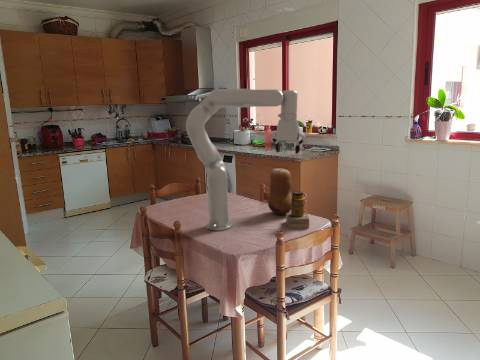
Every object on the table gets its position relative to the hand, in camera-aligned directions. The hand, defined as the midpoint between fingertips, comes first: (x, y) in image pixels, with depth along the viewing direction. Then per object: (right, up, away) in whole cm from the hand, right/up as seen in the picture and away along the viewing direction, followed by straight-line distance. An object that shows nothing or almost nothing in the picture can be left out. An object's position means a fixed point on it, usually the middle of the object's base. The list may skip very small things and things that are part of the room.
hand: (287, 152), depth 183 cm
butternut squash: (-1, -32, +23) cm, 39 cm away
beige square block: (+5, -36, +5) cm, 37 cm away
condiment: (+5, -31, +3) cm, 32 cm away
